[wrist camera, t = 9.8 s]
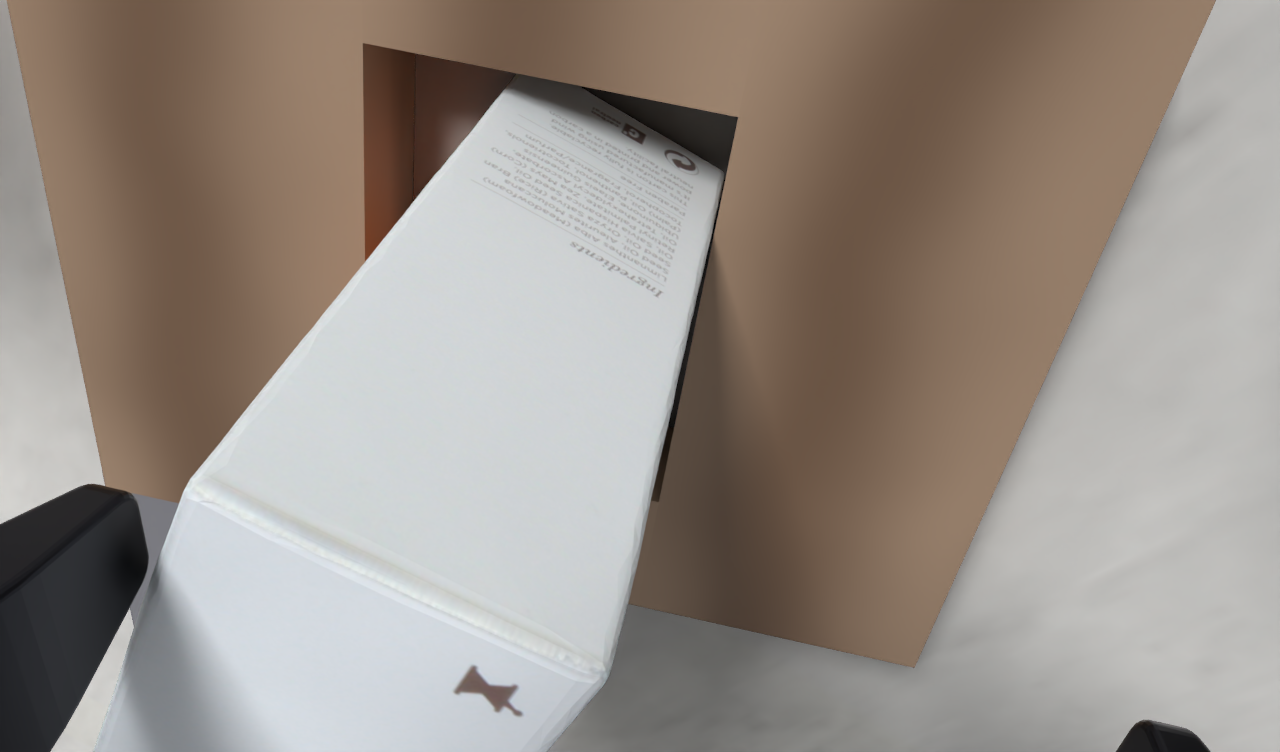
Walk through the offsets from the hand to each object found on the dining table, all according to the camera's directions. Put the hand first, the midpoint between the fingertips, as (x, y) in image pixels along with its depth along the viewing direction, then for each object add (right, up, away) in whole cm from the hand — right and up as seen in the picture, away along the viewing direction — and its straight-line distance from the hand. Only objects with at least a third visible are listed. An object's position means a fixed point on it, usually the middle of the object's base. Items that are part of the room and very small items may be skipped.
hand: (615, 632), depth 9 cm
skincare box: (-1, +5, +11) cm, 12 cm away
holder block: (-1, +5, +11) cm, 12 cm away
